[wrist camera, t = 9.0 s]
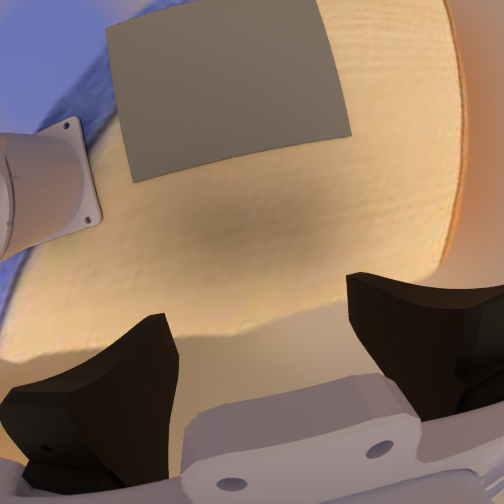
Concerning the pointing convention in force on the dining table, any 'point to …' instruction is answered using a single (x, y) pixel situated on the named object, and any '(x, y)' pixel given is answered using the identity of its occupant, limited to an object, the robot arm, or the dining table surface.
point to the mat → (223, 82)
